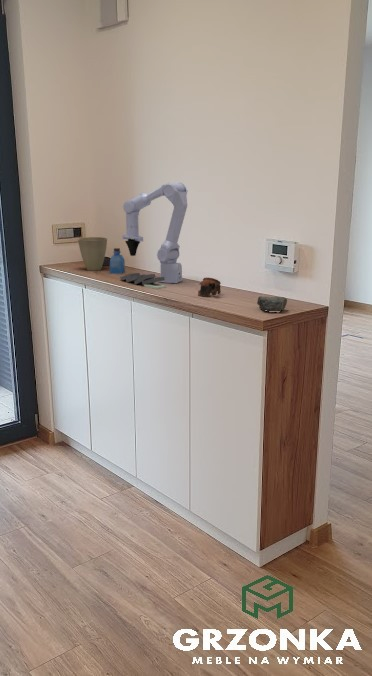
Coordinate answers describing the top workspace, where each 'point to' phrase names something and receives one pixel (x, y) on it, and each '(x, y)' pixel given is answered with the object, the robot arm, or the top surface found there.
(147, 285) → the domino
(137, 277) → the domino
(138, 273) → the domino
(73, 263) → the top surface
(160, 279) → the domino
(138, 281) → the domino
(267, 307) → the rock
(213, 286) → the brown irregular lump
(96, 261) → the plant pot
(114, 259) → the perfume bottle
